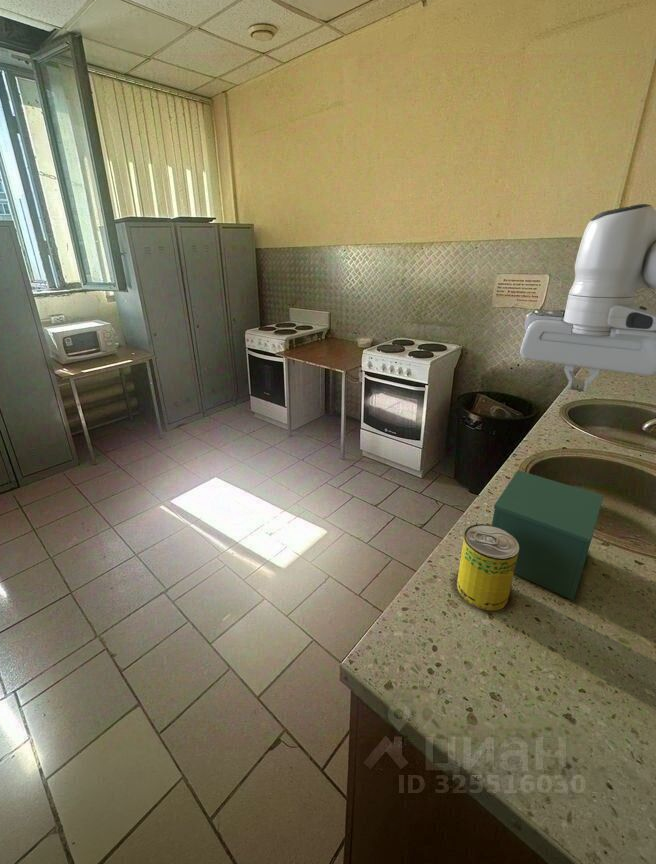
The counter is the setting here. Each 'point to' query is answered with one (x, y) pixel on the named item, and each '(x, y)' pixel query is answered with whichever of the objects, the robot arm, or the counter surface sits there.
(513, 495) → the lid
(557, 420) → the counter surface
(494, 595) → the yellow tin can
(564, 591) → the chest
